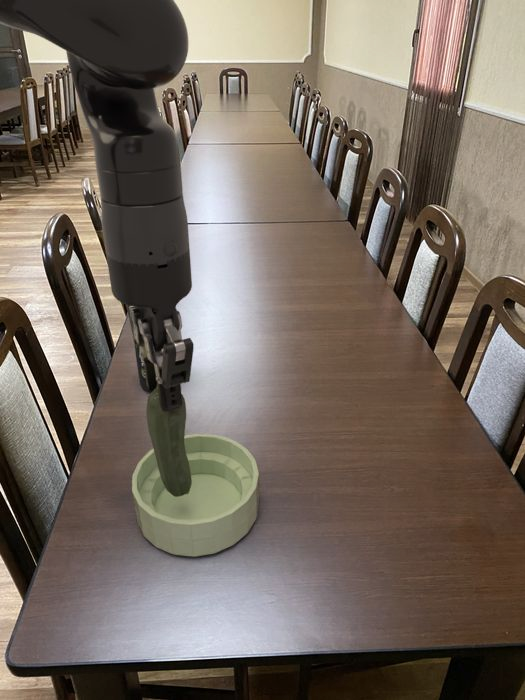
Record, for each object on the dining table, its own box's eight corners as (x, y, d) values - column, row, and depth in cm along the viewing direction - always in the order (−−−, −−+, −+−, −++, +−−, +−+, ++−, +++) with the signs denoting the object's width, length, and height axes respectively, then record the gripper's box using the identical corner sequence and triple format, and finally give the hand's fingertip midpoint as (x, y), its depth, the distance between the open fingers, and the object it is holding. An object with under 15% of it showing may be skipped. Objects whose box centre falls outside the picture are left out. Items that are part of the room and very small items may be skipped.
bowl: (162, 580, 60) (157, 544, 57) (122, 491, 71) (116, 457, 68) (280, 527, 66) (281, 492, 63) (226, 453, 77) (225, 420, 74)
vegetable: (183, 515, 63) (169, 374, 53) (151, 506, 64) (130, 366, 54) (199, 489, 67) (188, 352, 56) (168, 481, 68) (152, 345, 58)
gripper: (87, 229, 53) (111, 375, 61) (131, 280, 42) (153, 448, 51) (160, 217, 56) (173, 358, 65) (218, 263, 45) (224, 423, 54)
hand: (164, 397), depth 58 cm, fingers closed on vegetable, 3 cm apart
